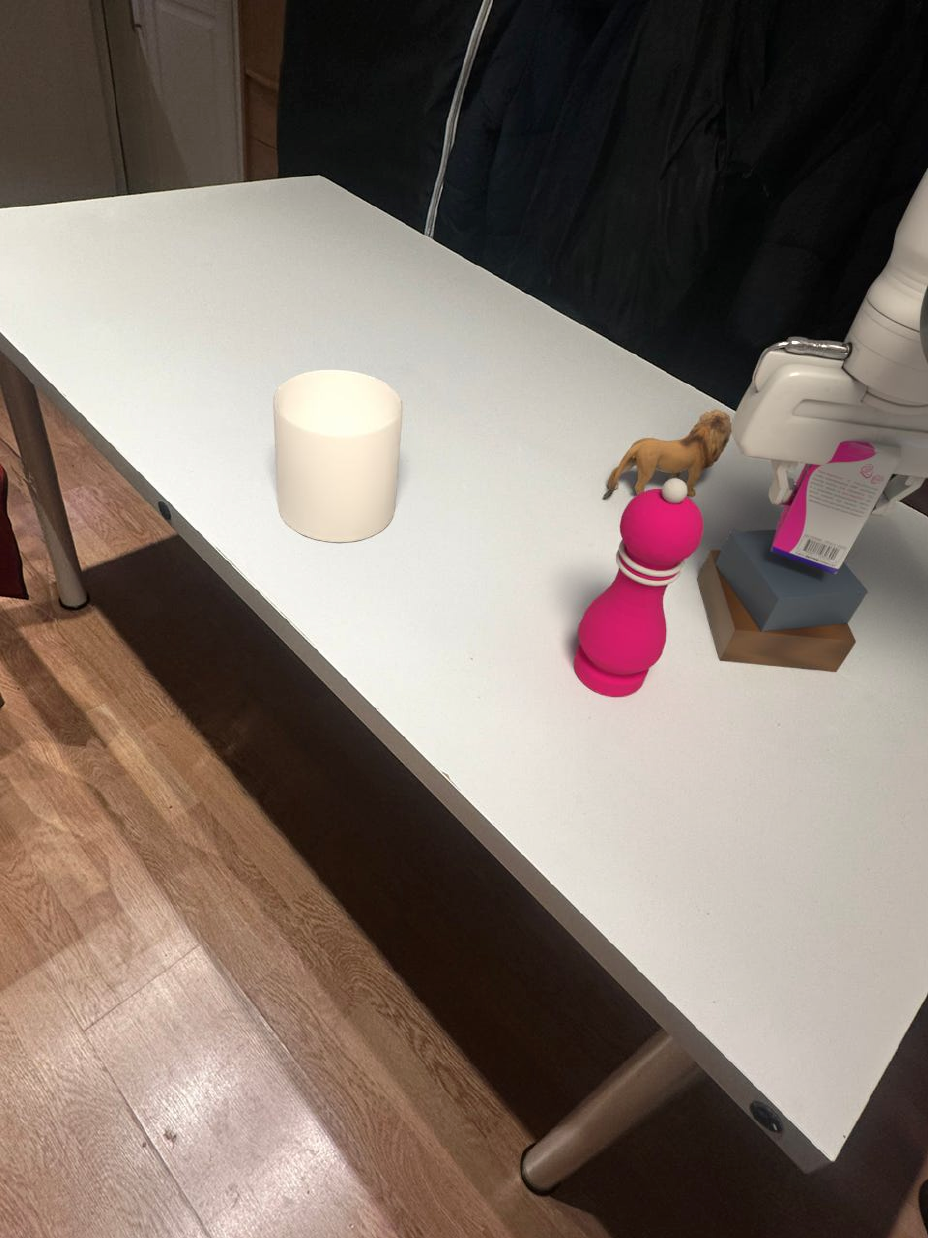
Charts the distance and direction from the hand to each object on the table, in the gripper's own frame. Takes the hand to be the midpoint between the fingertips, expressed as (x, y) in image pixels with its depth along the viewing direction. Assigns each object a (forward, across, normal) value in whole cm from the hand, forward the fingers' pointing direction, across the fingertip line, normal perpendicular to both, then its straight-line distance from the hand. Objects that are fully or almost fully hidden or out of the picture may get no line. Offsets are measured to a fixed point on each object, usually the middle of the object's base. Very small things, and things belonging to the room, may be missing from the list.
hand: (826, 506), depth 69 cm
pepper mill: (+14, -16, -8) cm, 23 cm away
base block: (+14, 0, 0) cm, 14 cm away
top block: (+10, 0, 0) cm, 10 cm away
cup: (+14, -42, +11) cm, 46 cm away
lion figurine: (+14, -7, +21) cm, 26 cm away
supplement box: (+4, 0, 0) cm, 4 cm away
